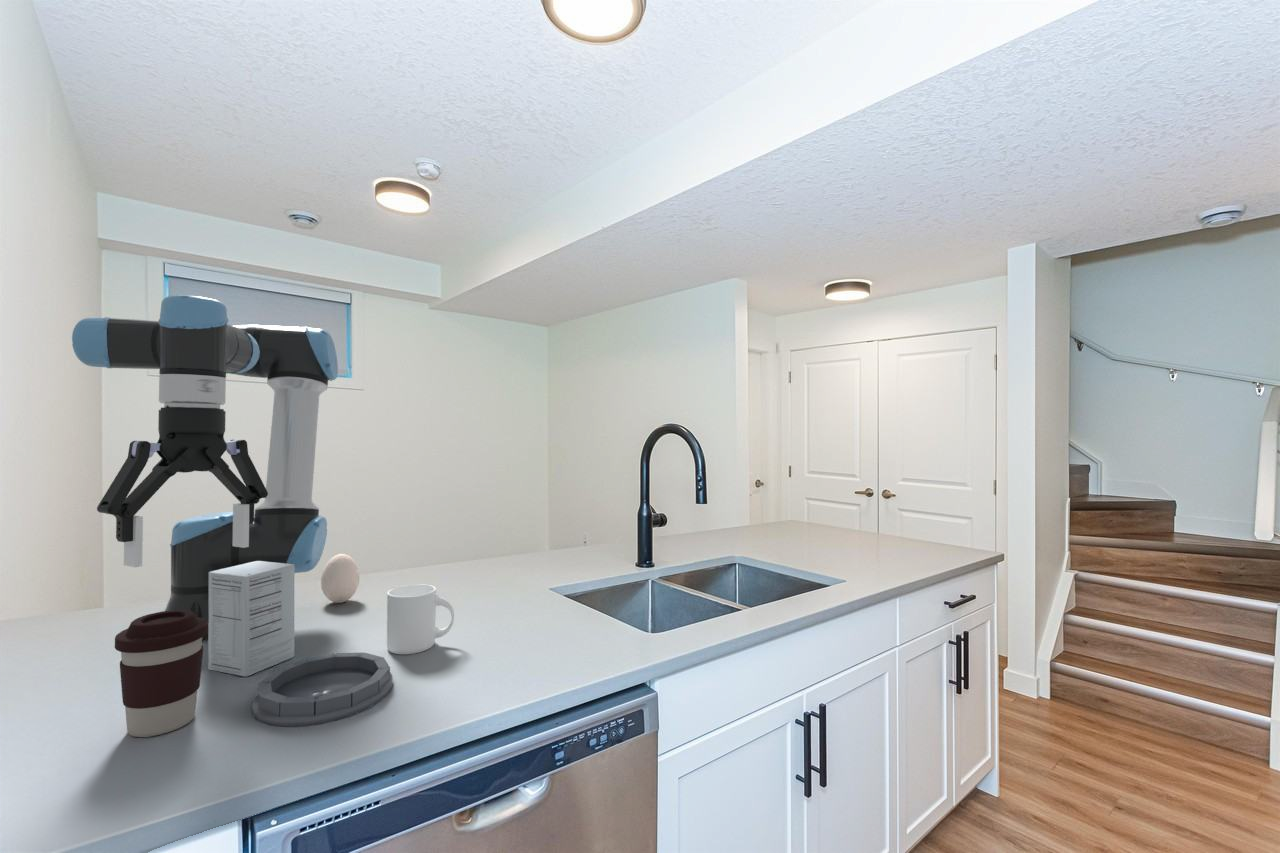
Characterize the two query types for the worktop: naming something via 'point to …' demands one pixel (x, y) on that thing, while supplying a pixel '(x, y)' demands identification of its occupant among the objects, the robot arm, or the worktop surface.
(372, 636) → the worktop surface
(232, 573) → the supplement box
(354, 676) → the bowl
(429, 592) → the mug
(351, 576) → the egg
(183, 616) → the coffee cup
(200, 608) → the robot arm
